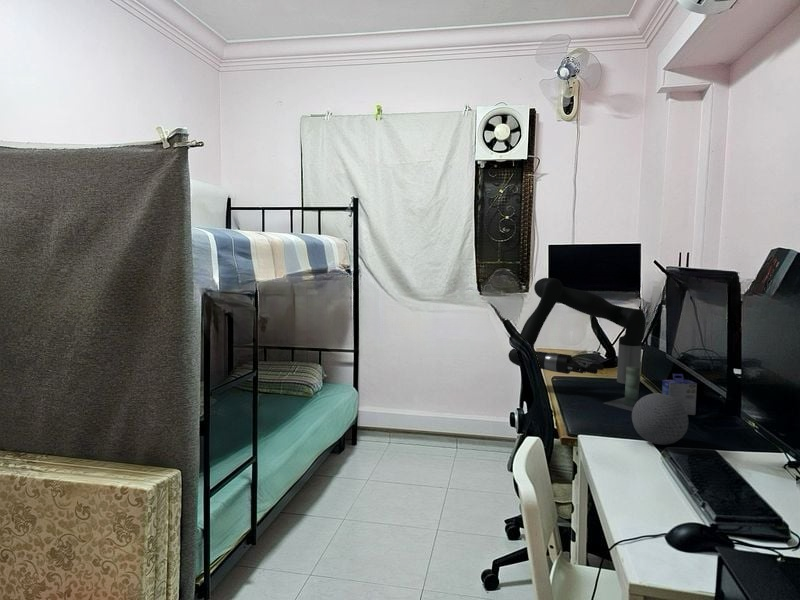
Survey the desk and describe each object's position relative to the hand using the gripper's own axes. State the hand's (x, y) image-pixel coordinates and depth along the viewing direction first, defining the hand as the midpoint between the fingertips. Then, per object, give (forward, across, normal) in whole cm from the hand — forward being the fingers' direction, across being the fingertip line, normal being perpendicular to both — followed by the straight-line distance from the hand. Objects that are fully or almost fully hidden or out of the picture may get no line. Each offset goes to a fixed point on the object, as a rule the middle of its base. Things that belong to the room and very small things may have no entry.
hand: (600, 369), depth 191 cm
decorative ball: (+26, -34, +13) cm, 44 cm away
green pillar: (+12, 0, +12) cm, 16 cm away
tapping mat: (+12, 0, +13) cm, 17 cm away
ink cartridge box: (+27, +1, +13) cm, 30 cm away
